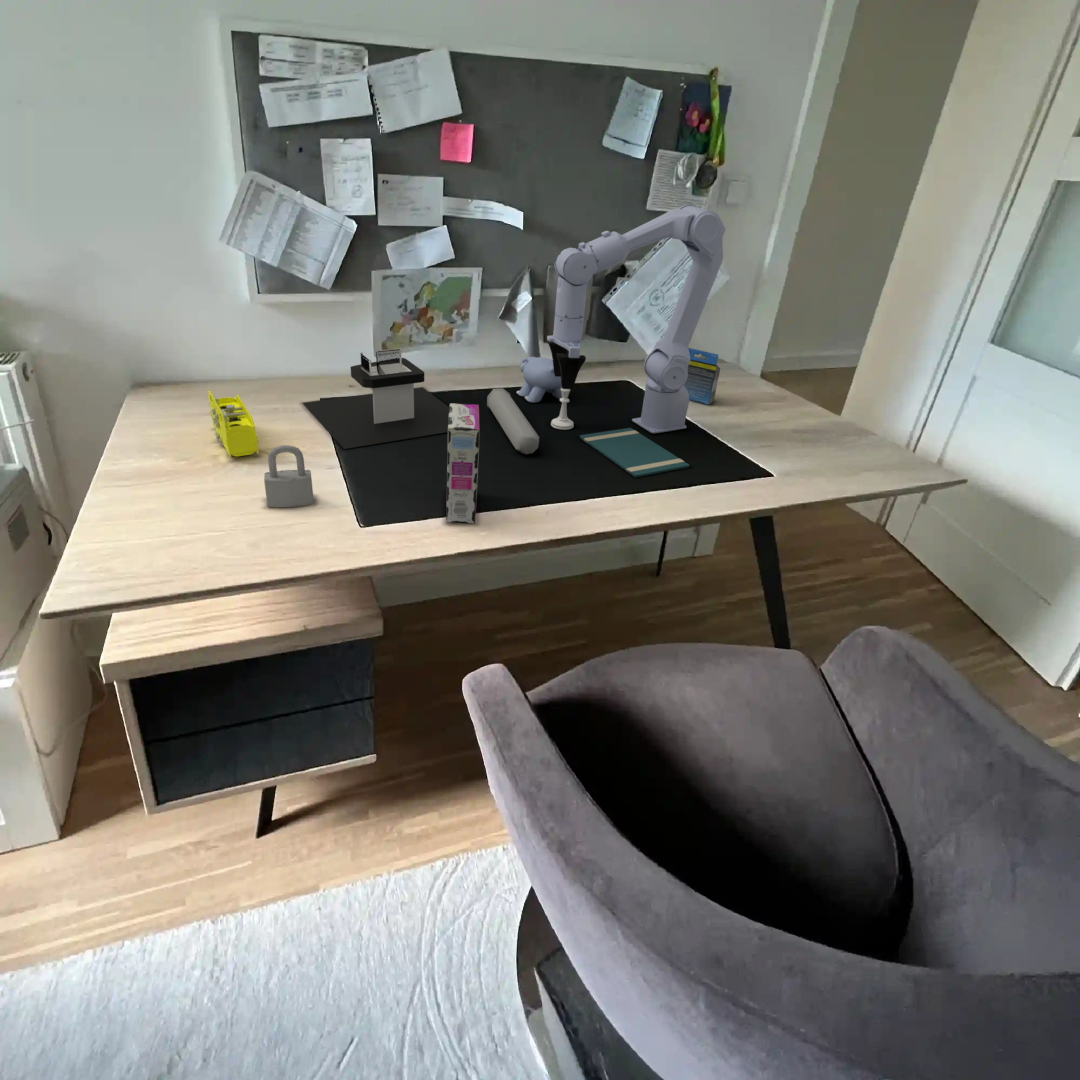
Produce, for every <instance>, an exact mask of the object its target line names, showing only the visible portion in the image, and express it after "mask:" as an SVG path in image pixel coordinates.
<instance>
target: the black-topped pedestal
mask: <svg viewBox="0 0 1080 1080" xmlns="http://www.w3.org/2000/svg"><path fill="white" fill-rule="evenodd" d="M363 353H364V352H361V351H360V353H359V354H360V364H356V365H352V366H350V377H351V378H352V379H353V380H355V382H357V383H358V384H359V385H360V386H361V387H362V388H365V389H370V390H371V391H372V393H368V394H359V395H353V396H352V395H351V396H344V397H336V398H335V397H334V398H328V399H320V400H313V401H305V402H302V404H303V405H304V407H305V408H306V409H307V410H308V411H309V412H310V413H311V414H312V415H313V417H314V418H315V419H316V420H317V421H318V422H319V423H320V425H322V426H323V428H324V429H325V430H326V431H327V432H328V433H329V434H330V435H331V436H332V438H334V440H335V441H336V442H337V443H338V444H339V445H340V446H341V448H342V449H343V450H347V449H353V448H358V447H366V446H372V445H377V444H383V443H390V442H395V441H401V440H408V439H415V438H421V437H425V436H431V435H437V434H443V433H448V419H449V408H450V406H449V405H447V404H445V403H444V402H443V401H441V400H440V399H439V398H437V397H436V396H435V395H434V394H433V393H431V392H430V391H428V390H427V389H426V388H424V387H415V384H419V383H420V384H421V383H424V382H425V371H423V370H422V369H421V368H420V367H418V366H417V365H415V364H414V363H412V362H411V361H410V360H409V359H407V358H405V357H402V348H401V347H400V348H398V349H388V350H375V360H376V361H373V362H372V359H369V358H368V357H366V355H364V354H363ZM397 353H398V355H397ZM387 354H388V355H387ZM388 356H389V358H388Z"/></svg>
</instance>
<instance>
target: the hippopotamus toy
mask: <svg viewBox="0 0 1080 1080" xmlns="http://www.w3.org/2000/svg"><path fill="white" fill-rule="evenodd" d="M519 366H520V367H519V369H520V372H522V377H523V380H524V381H523V384H522V386H521V388H520V390H517V391H516V394H517V395H518V396H519V397H524V399H525V400H526V401H527V402H529V403H539V402H541V401H542V399H543V398H544V395H545V393H550V394H551V396H553V397H554V398H555V399H558V400H560V398H563V397H562V393H561V388H562V385H561V377H555V375H554V368H553V359H550V358H548V357H543V356H540V357H537V356H528V357H526V358H522V360H521V362H520V365H519ZM567 398H568V399H569V396H568V397H567Z"/></svg>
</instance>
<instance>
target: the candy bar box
mask: <svg viewBox="0 0 1080 1080" xmlns="http://www.w3.org/2000/svg"><path fill="white" fill-rule="evenodd" d="M479 406H480V405H479V404H474V403H449V419H448V432H447V456H446V457H447V461H446V466H447V467H446V502H445V503H446V508H445V509H446V511H445V514H446V515H445V523H447V524H461V525H475V524H476V516H477V515H476V514H477V499H478V482H479V481H478V480H479V462H480V461H479V459H480V435H481V434H480V407H479Z"/></svg>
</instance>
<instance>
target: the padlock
mask: <svg viewBox="0 0 1080 1080" xmlns="http://www.w3.org/2000/svg"><path fill="white" fill-rule="evenodd" d="M283 453H290V454H293V455H294V456H295V460H296V468H297V469H283V470H282V469H281V470H278V469H277V455H279V454H283ZM267 463H268V471H266V472H264V474H263V475H264V476H263V478H264V479H263V482H264V489H265V498H266V504H267V507H268V508H294V507H301V506H306V505H307V506H308V505H313V504H314V503H315V501H314V490H313V480H312V470H311V469H306V467H305V459H304V454H303V452H302V451H301V450H300V449H299V447H296V446H294V445H288V444H287V445H285V444H284V445H279V446H278V445H277V446H275V447H273V448H272V449H270V451H269V452H268V455H267Z"/></svg>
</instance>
